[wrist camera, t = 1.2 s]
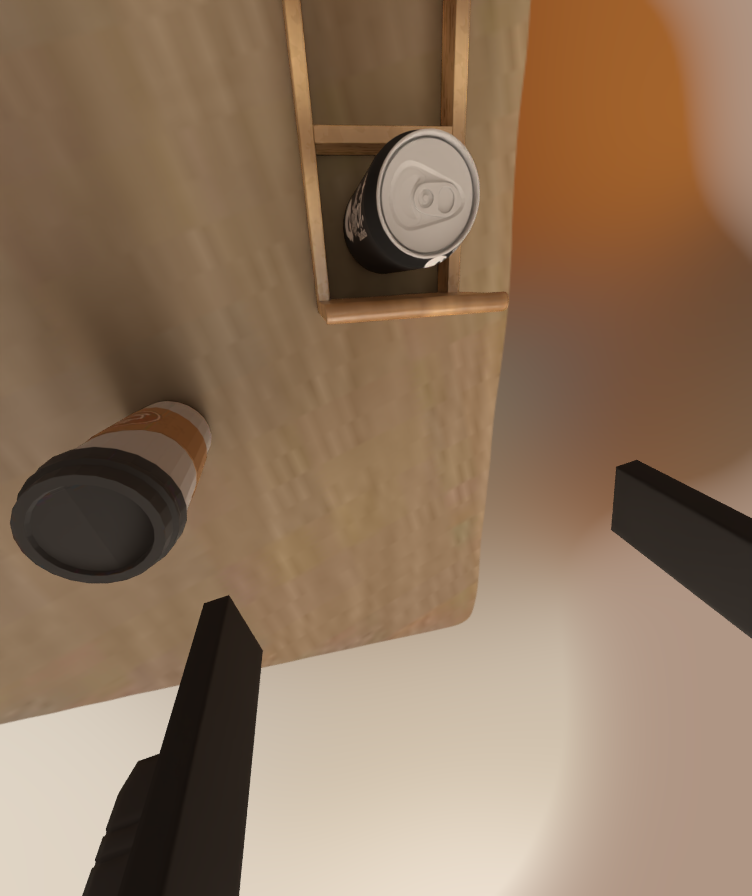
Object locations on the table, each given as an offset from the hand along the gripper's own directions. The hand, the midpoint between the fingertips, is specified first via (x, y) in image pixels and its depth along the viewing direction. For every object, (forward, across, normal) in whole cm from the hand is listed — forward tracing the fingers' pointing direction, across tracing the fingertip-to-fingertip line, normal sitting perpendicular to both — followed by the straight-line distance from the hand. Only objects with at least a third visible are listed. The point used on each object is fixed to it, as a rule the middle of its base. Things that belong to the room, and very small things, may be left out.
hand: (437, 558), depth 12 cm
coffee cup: (+25, -16, 0) cm, 30 cm away
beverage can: (+25, +6, +11) cm, 28 cm away
